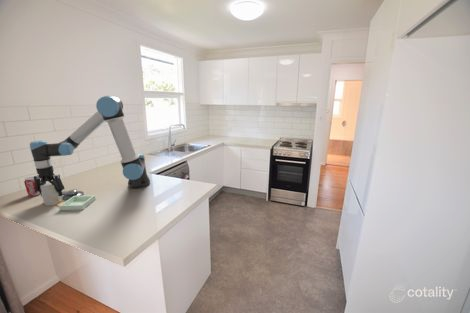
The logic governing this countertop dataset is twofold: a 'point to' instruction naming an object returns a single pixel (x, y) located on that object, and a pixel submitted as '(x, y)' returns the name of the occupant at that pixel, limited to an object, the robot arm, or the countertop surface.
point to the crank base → (72, 196)
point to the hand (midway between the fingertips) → (53, 200)
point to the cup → (49, 194)
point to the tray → (77, 203)
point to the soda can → (31, 186)
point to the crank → (70, 192)
